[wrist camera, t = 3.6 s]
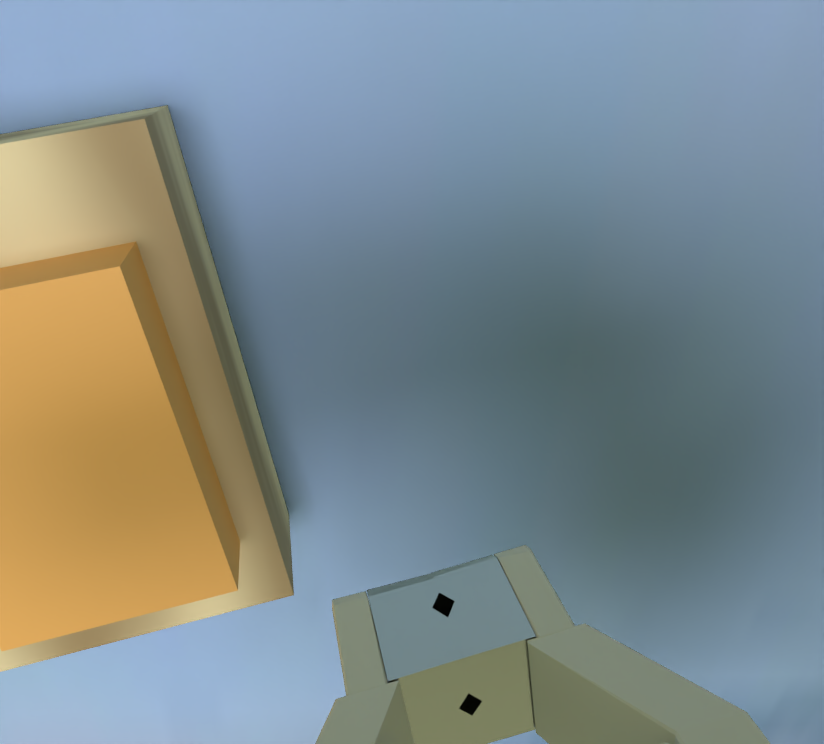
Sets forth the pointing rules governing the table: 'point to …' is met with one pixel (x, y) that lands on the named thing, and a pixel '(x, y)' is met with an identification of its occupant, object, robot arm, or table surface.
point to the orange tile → (99, 455)
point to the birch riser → (181, 311)
